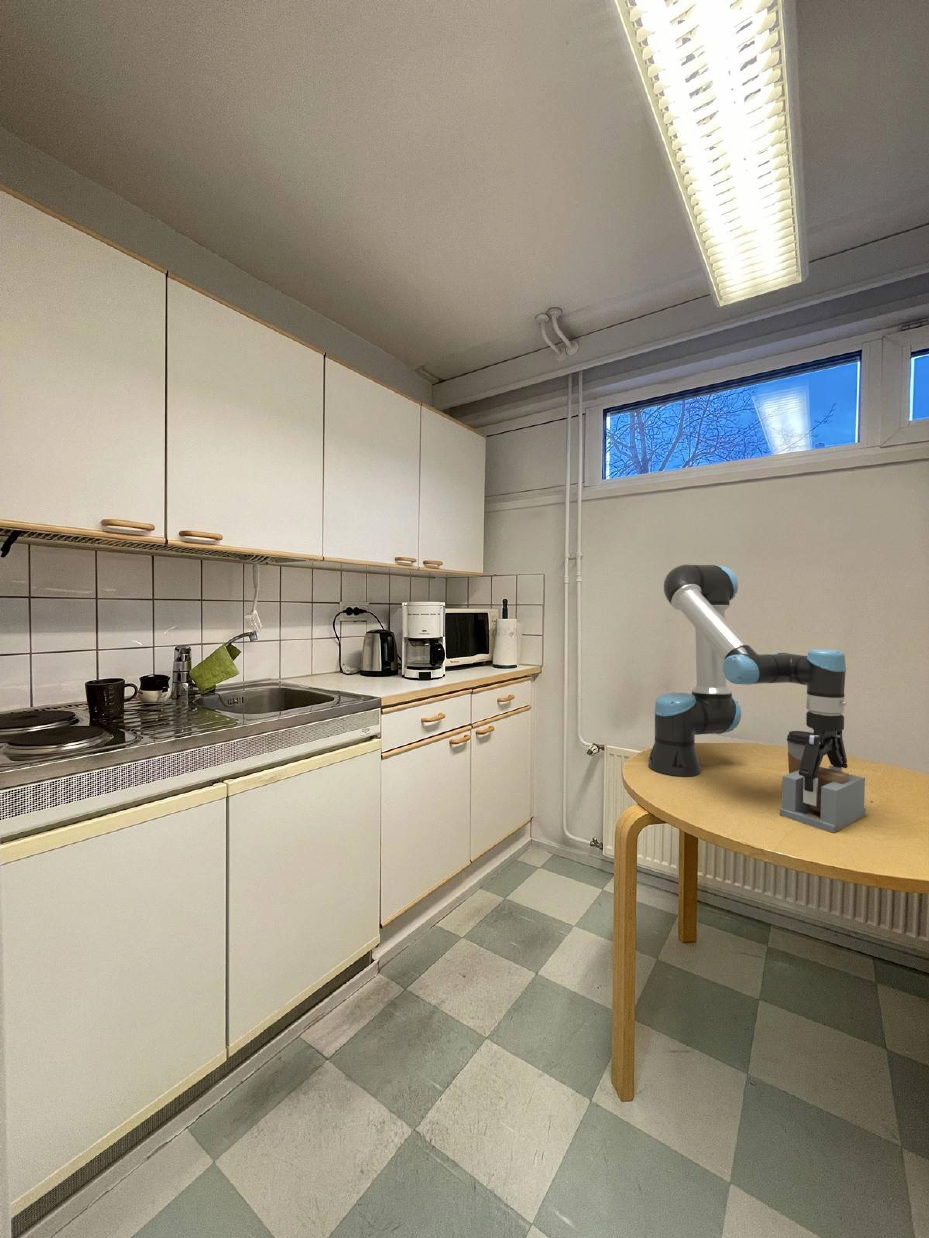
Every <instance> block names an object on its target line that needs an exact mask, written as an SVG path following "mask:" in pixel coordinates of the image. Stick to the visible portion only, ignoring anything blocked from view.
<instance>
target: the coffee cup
mask: <svg viewBox="0 0 929 1238" xmlns="http://www.w3.org/2000/svg"><path fill="white" fill-rule="evenodd" d="M807 734H808V735H813V732H810V731H804V730H803V731H802V730H791V731H788V734H787V736H786V737H787V738H786V741H787V761H788V762H787V763H788V774H790V773H792V772H795V771H798V770H799V769H800V765H801V761H802V757H803V752H804V748H805V744H806V735H807Z"/></svg>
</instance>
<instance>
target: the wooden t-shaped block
mask: <svg viewBox="0 0 929 1238" xmlns="http://www.w3.org/2000/svg"><path fill="white" fill-rule="evenodd" d="M808 772H809V771H808ZM849 775H850V773H849V772H848V773H847V772H844V771H843V772H840V771H836V770H832V769H829V767H828V768H827V767H822V766H820V767H819V770H818V772H817V775H816V778H818V796H817V806H813V805H810V808H811V809H814V810H815V811H818V812H821V787H822V786H824V785H827V784H829V783H831V782H836V783H840V784H843V783H846V782H848V781H849ZM814 810H813V811H814Z"/></svg>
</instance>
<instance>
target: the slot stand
mask: <svg viewBox="0 0 929 1238" xmlns="http://www.w3.org/2000/svg"><path fill="white" fill-rule="evenodd" d="M781 780H782V781H781V808H780V809H779V816H781V817H784V818H786V819H791V820H792V821H797V822H799V823H802V824H805V825H809V826H811V827H814V828H817V829H820V830H824V831H826V832H829V833H832V834H834V833H836V832H838V831H840V830H842V829H844V828H845V827H847V826H849V825H851V824H853V823H854V822H856V821H858V820H860V819H861V818H863V817H865V816H867V815H866V814H867V813H866V812H867V810H866V808H865V791H866V777H863V776H858V775H855V774H850V773H849V781H848V782H846V783H843V784H840V783H836V782H831V783H829V784H827V785H824V786H822V787H821V811H820V818H818V817H815V816H812V815H808V814H807V813H810V812H812V811H814V809H811V808H810V804H807V803H803V785H804V776H801V775H799V770H798V771H795V772H792V773H790V774H789V773H787V774H784V775H782V777H781Z"/></svg>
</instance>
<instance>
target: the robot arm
mask: <svg viewBox="0 0 929 1238" xmlns="http://www.w3.org/2000/svg"><path fill="white" fill-rule="evenodd" d="M738 583H739V582H738V579H737V576H736V574H735V573H734V572H733V571H732V570H731V569H730V568H729V567H728V566H723V565H716V564H682V565H678V566H675V567H674V568H672V569H671V570H670V571H669V572H668V573H667V575H666V576H665V578H664V581H663V592H664V595H665V598H666V599H667V601H668V603H669V604H670V605H671V606H672V608H674V609H675V610H678V611H680V612H681V613H683V616H685V617H686V619H687V620H688V621H689V622H690V624H691V625H692V626H693V627H694V629H695V631H694V632H695V634H694V635H695V668H696V670H695V671H696V675H695V676H696V685H695V687H694V688H692V690H691V693H688V692H671V693H669V692H668V693H665V694H661V695H659V696H658V697H657V698H656V700H655V705H654V743H653V746H652V749H651V751H650V755H649V756H648V764H647V765H648V767H649V769H650V770H652V771H655V772H657V773H660V774H663V775H668V776H673V777H674V776H676V777H692V776H694V777H695V776H697V775H699V774H700V773H701V763H700V761H699V760H700V759H699V757H698V753H697V749H696V747H695V745H696V744H695V741H696V737H695V736H697V735H711V734H714V735H715V734H716V735H720V734H724V733H730V732H732V731H734V730H735V729H736V728H737V727H738V726H739V724H740V721H741V720H742V719H741V718H742V709H741V705H740V704H739V702H738V700H737V699H736V698H734V697H733V694H732V693H733V692H732V691H731V690H730V689H729V688H728V686H727V681H728V682H730V683H731V684H734V685H748V686H749V685H761V684H782V683H783V684H785V683H789V684H797V685H804V686H806V701H805V702H806V706H805V708H806V710H807V712H806V714H805V715H806V717H805V719H806V720H805V721H806V722H805V723H806V727H808V728H810V729H812V730H813V732H812V733H813V735H808V734H807V735H806V744H805V748H804V752H803V757H802V761H801V765H800V769H799V775H801V776H804V785H803V803H807V804H810V805H813V806H817V796H818V778H816V775H817V772H818V770H819V767H821V764H822V761H823V759H824V756H827V759H828V761H829V763H830V765H829V766H828V769H832V770H836V771H840V772H844V771H843V770H844V769H848V764H847V763H848V760H847V759H848V758H847V755H846V749H845V745H844V739H843V731H844V729H845V716H844V715H843V714H844V713H845V706H847V702H846V701H845V685H846V672H847V667H846V655H845V653H844V652H843V651H841V650H838V649H828V648H826V649H825V648H811V649H809V650H808V651H807V655H802V654H795V653H788V652H772V653H771V652H770V653H769V654H758V653H757V652H756V651H755V650H754V649H753V648H752V647H751V646H750V645H749V644H748V642H746V640H745V639H744V638H743V637H742V636H740V634H739V633H738V632H737V631H736V629H735V628H734V627H733V626H732V625H731V624H730V623H729V622H728V621H727V620H726V619H725V618H726V617H725V612H726V611H727V609H729V608H730V605H731V603H730V601H732V600H733V599H734V598H735V597H736V594H737V593H738V589H739V585H738ZM808 771H809V772H808Z"/></svg>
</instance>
